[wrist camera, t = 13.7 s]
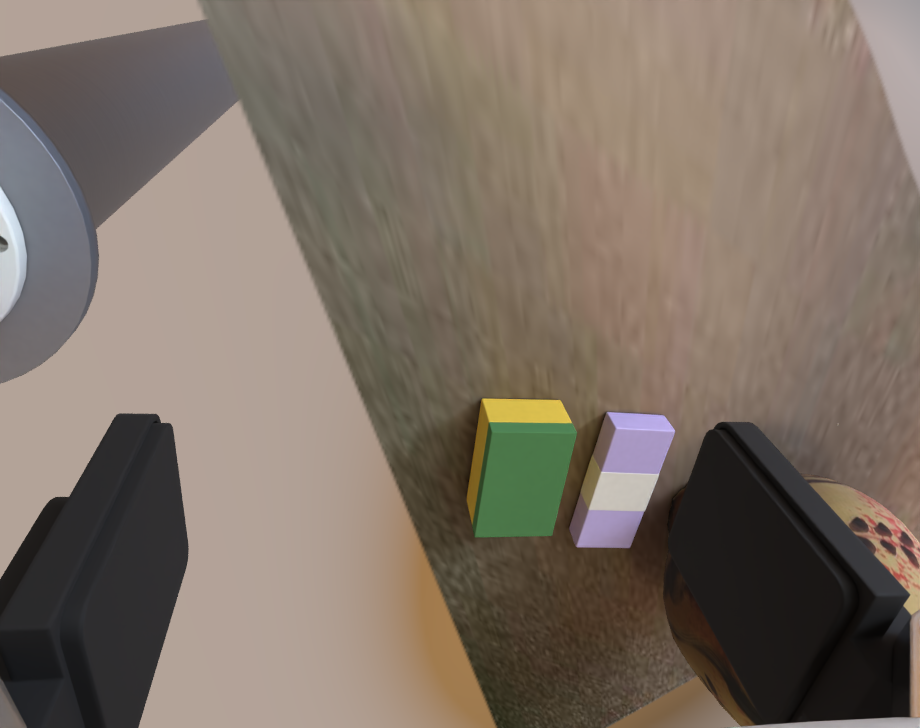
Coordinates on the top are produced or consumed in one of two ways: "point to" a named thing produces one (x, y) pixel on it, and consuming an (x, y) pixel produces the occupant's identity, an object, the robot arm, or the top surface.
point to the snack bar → (620, 479)
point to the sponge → (519, 467)
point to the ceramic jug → (695, 638)
